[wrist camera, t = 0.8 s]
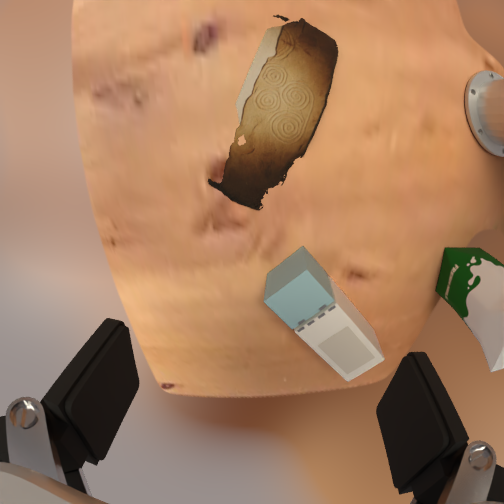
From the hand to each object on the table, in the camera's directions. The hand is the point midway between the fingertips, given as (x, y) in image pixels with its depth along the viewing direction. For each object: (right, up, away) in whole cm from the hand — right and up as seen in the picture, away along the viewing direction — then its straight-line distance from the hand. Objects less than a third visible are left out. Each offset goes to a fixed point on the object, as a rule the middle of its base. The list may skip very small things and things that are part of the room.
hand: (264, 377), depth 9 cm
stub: (+5, +1, +29) cm, 29 cm away
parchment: (+3, +21, +22) cm, 30 cm away
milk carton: (+30, +2, +26) cm, 40 cm away
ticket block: (+11, -5, +31) cm, 33 cm away
